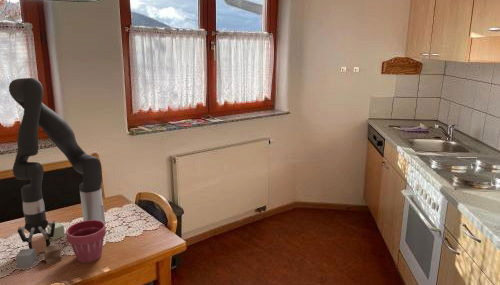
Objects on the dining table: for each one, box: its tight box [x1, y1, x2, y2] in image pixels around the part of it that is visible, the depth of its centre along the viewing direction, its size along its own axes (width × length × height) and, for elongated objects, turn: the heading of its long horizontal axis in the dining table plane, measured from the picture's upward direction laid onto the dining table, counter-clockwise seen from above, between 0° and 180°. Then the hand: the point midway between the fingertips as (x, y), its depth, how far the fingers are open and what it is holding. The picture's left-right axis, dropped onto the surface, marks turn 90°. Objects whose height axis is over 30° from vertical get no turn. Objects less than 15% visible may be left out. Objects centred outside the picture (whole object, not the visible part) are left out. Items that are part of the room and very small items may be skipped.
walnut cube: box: [43, 243, 62, 265], centre depth 154 cm, size 5×5×5 cm
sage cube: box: [46, 222, 66, 241], centre depth 173 cm, size 5×5×5 cm
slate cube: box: [15, 248, 37, 269], centre depth 152 cm, size 5×5×5 cm
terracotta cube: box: [31, 234, 47, 254], centre depth 162 cm, size 5×5×5 cm
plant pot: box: [65, 220, 107, 264], centre depth 155 cm, size 14×14×13 cm
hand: (40, 247), depth 163 cm, fingers closed on terracotta cube, 5 cm apart
